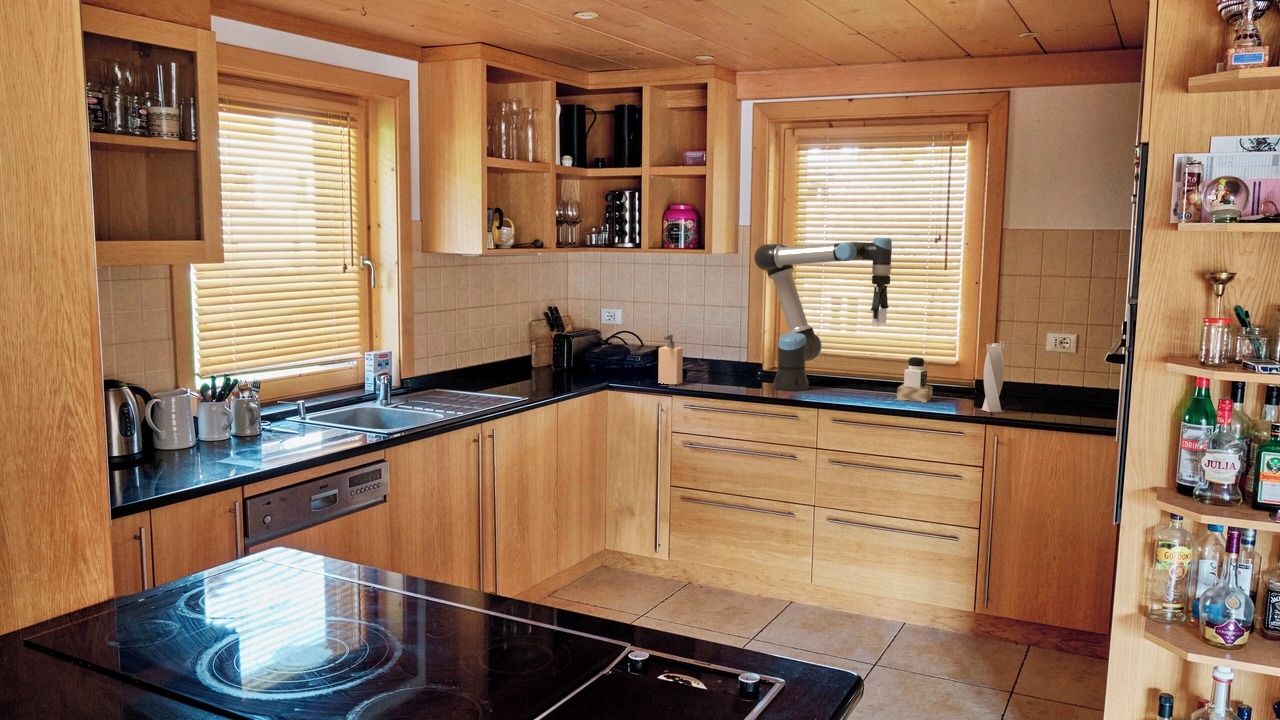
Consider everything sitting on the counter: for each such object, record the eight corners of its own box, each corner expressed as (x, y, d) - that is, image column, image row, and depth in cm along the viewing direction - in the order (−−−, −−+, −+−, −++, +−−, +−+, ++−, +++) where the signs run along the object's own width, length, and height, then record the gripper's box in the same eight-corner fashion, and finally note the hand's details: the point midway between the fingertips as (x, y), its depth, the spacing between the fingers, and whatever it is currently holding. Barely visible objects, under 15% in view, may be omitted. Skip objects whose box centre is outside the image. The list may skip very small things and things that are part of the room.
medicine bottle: (920, 388, 407) (921, 359, 405) (903, 386, 411) (904, 357, 409) (926, 386, 413) (928, 357, 411) (909, 384, 417) (911, 356, 415)
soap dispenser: (663, 382, 449) (664, 333, 446) (682, 383, 446) (683, 334, 443) (655, 386, 437) (655, 336, 434) (673, 387, 434) (674, 337, 431)
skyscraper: (1007, 413, 383) (1012, 340, 379) (988, 414, 381) (993, 340, 377) (995, 409, 391) (1000, 338, 387) (976, 410, 389) (981, 338, 386)
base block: (896, 400, 410) (897, 387, 409) (902, 395, 420) (903, 383, 420) (926, 402, 404) (927, 390, 404) (931, 398, 415) (932, 385, 414)
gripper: (883, 276, 409) (881, 328, 412) (896, 273, 432) (894, 323, 435) (865, 275, 413) (863, 327, 416) (878, 273, 435) (876, 322, 438)
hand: (879, 325), depth 425 cm, fingers open, 13 cm apart
